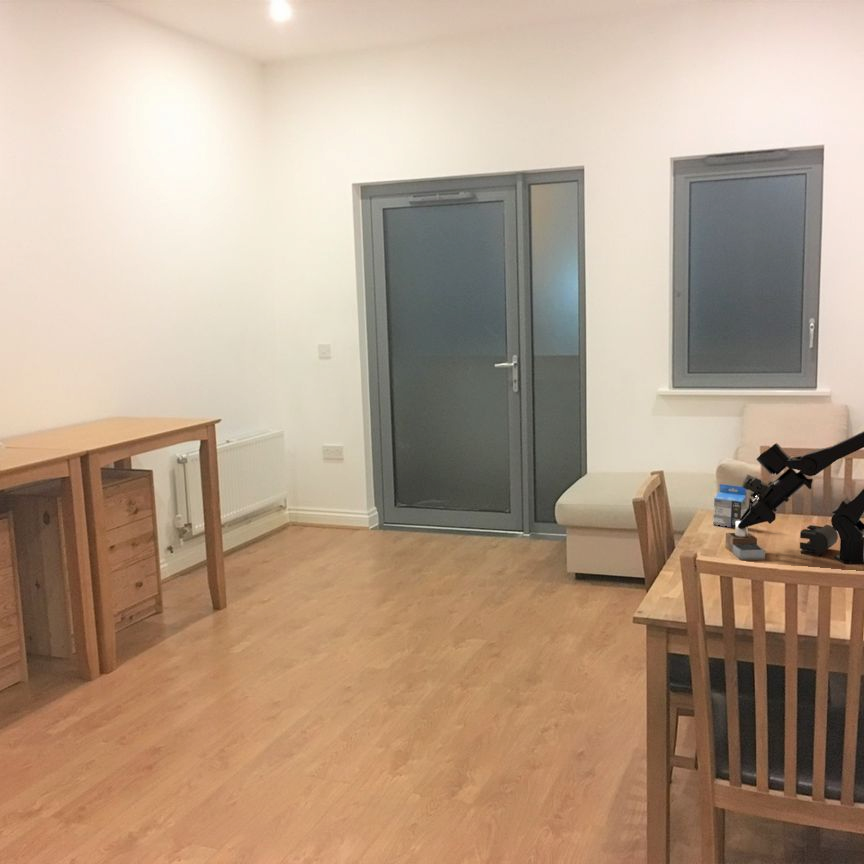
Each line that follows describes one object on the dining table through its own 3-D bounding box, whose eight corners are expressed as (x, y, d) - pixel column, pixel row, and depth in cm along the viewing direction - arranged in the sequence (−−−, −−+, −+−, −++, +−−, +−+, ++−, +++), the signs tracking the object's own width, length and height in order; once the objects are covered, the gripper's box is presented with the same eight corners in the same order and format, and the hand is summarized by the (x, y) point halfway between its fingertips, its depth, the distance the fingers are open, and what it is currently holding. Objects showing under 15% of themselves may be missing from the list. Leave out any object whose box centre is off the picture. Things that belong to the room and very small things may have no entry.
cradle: (764, 559, 239) (765, 550, 239) (740, 559, 240) (740, 550, 239) (756, 553, 246) (757, 544, 245) (732, 553, 246) (732, 544, 246)
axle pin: (748, 551, 248) (749, 522, 246) (736, 551, 248) (737, 522, 247) (744, 548, 251) (745, 519, 250) (733, 548, 251) (734, 519, 250)
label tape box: (712, 525, 278) (713, 485, 276) (718, 522, 281) (719, 483, 279) (740, 529, 272) (741, 488, 271) (746, 527, 275) (747, 486, 273)
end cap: (826, 558, 240) (828, 533, 239) (799, 554, 245) (800, 529, 244) (837, 550, 248) (838, 525, 247) (810, 546, 252) (811, 522, 252)
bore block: (756, 553, 246) (757, 538, 245) (732, 553, 246) (732, 538, 246) (748, 546, 252) (749, 532, 252) (725, 547, 252) (725, 532, 252)
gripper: (759, 460, 254) (716, 497, 258) (763, 471, 236) (717, 511, 240) (788, 489, 252) (745, 526, 257) (795, 503, 235) (748, 542, 239)
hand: (738, 526), depth 248 cm, fingers closed on axle pin, 3 cm apart
